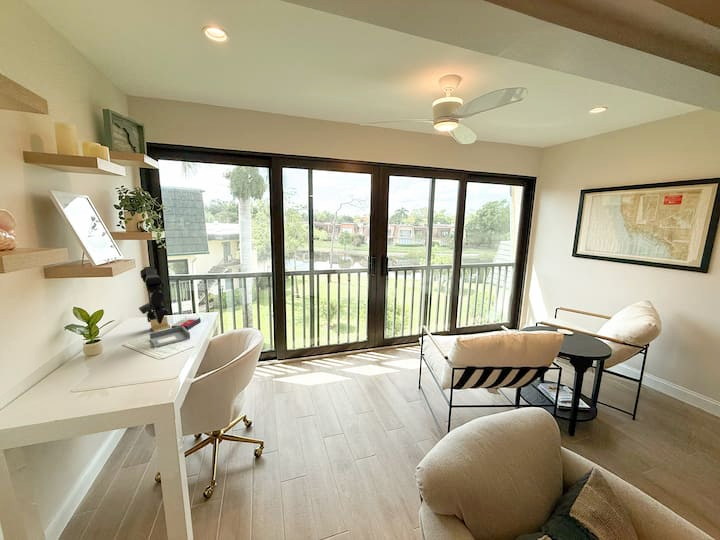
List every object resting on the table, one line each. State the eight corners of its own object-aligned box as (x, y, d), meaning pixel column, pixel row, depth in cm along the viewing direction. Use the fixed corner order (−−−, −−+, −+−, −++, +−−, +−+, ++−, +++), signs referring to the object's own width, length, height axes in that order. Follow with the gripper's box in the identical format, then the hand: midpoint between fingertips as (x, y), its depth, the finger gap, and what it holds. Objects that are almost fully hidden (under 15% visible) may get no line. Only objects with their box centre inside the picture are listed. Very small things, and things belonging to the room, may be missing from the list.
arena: (150, 339, 176) (149, 333, 176) (183, 331, 189) (183, 325, 188) (154, 348, 165) (153, 341, 164) (190, 338, 177) (189, 332, 176)
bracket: (167, 325, 176) (166, 316, 175) (170, 327, 173) (168, 318, 172) (151, 329, 170) (150, 320, 169) (154, 331, 167) (153, 321, 166)
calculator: (170, 325, 190) (185, 316, 205) (171, 331, 191) (186, 322, 206) (187, 325, 190) (200, 316, 204) (188, 331, 191) (201, 322, 205)
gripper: (134, 298, 169) (138, 323, 172) (143, 304, 157) (148, 331, 160) (157, 294, 178) (160, 318, 180) (167, 299, 166) (170, 325, 169)
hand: (159, 323), depth 172 cm, fingers closed on bracket
